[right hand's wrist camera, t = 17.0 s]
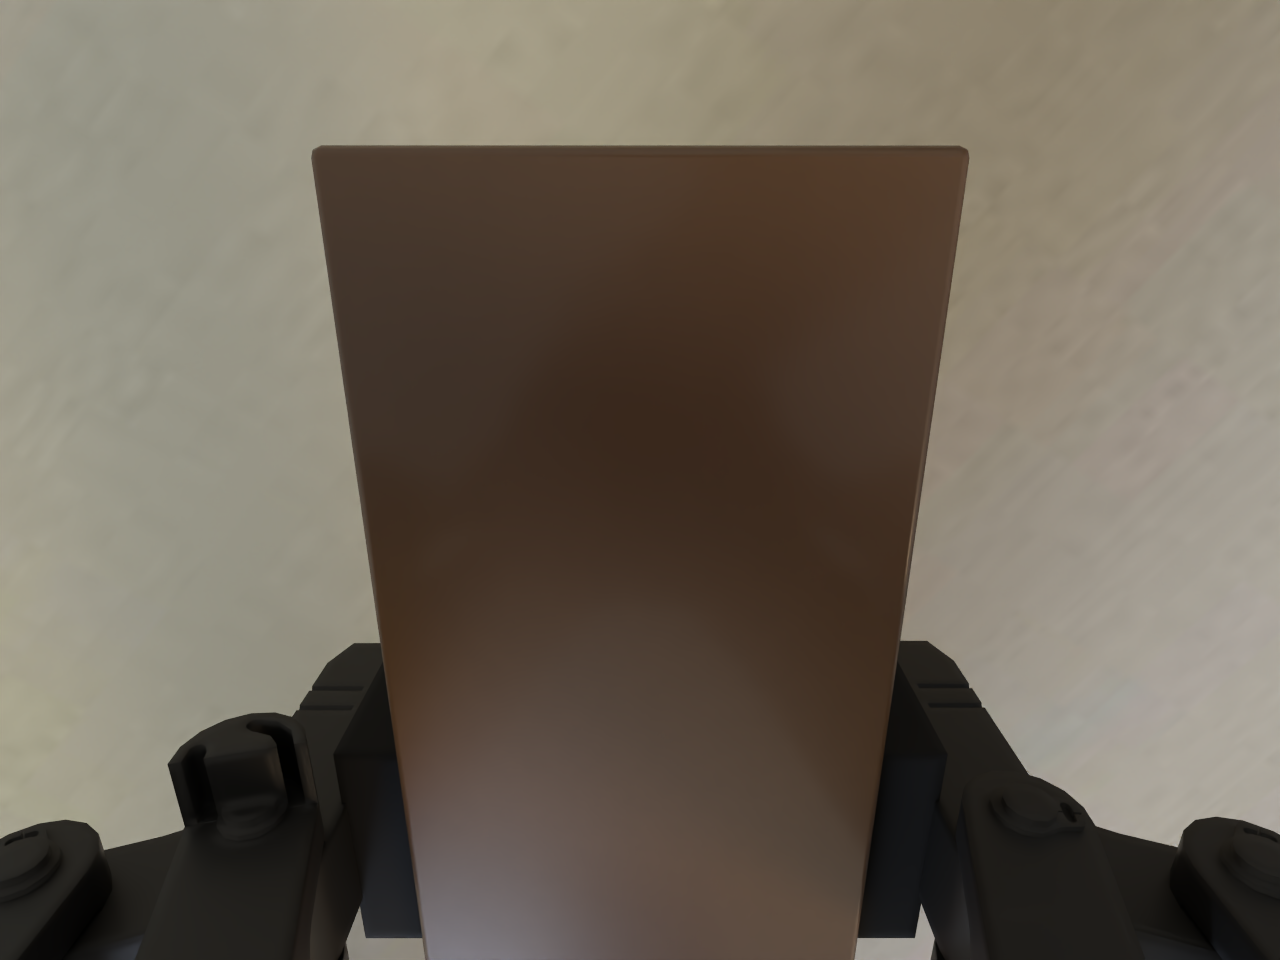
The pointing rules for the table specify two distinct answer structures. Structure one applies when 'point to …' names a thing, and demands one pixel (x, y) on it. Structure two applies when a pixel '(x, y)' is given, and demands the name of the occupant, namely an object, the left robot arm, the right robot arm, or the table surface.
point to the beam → (640, 524)
